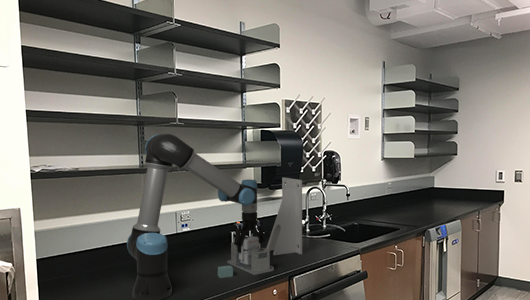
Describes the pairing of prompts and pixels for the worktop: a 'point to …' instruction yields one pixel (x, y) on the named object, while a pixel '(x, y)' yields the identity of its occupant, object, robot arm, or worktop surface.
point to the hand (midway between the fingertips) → (249, 257)
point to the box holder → (252, 260)
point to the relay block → (225, 271)
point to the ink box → (249, 248)
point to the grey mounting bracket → (288, 220)
